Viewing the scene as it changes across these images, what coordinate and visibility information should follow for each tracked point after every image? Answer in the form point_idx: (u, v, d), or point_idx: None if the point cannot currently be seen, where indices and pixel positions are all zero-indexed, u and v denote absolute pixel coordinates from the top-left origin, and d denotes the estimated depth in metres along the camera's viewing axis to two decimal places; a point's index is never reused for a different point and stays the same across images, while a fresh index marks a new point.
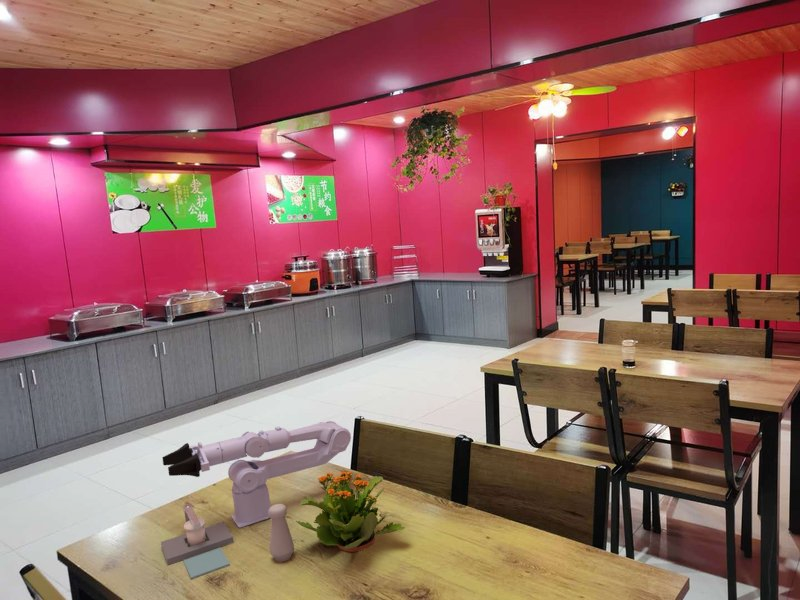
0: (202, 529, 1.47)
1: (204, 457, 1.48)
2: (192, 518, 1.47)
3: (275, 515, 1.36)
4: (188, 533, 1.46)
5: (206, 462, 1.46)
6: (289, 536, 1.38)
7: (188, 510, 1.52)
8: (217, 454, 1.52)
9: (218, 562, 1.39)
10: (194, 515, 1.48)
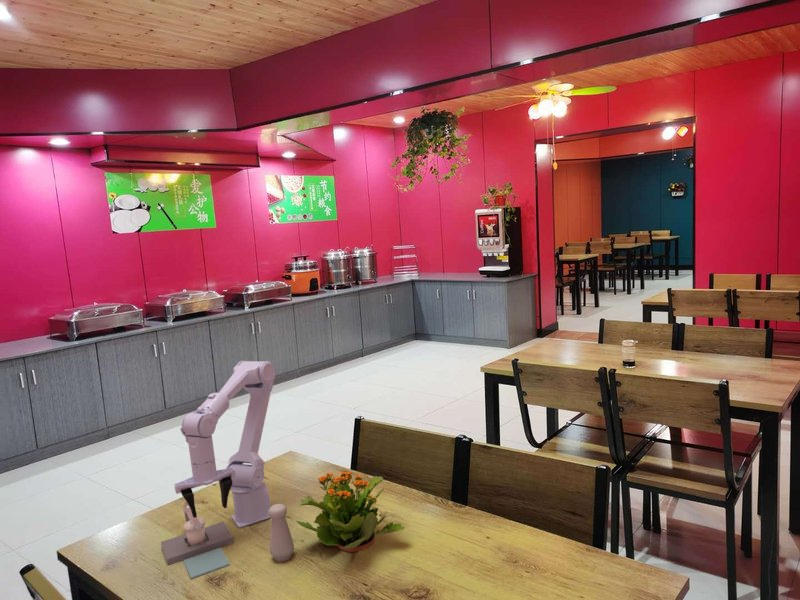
0: (202, 529, 1.47)
1: (225, 475, 1.46)
2: (192, 518, 1.47)
3: (275, 515, 1.36)
4: (188, 533, 1.46)
5: (233, 472, 1.48)
6: (289, 536, 1.38)
7: (188, 510, 1.52)
8: (214, 461, 1.45)
9: (218, 562, 1.39)
10: None
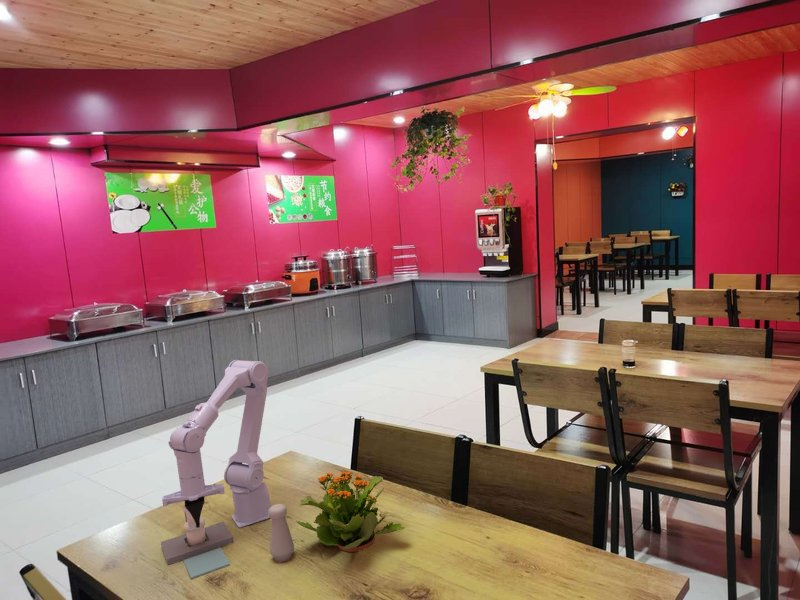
0: (202, 529, 1.47)
1: (212, 491, 1.44)
2: (189, 519, 1.47)
3: (275, 515, 1.36)
4: (188, 533, 1.46)
5: (221, 488, 1.45)
6: (289, 536, 1.38)
7: (187, 510, 1.51)
8: (202, 477, 1.44)
9: (218, 562, 1.39)
10: (191, 516, 1.48)
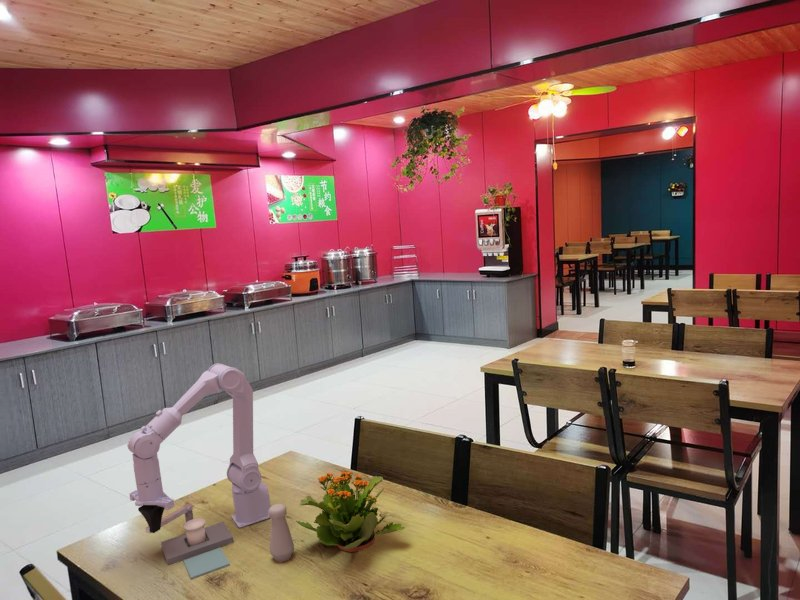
0: (202, 529, 1.47)
1: (157, 503, 1.40)
2: None
3: (275, 515, 1.36)
4: (188, 533, 1.46)
5: (165, 504, 1.39)
6: (289, 536, 1.38)
7: (176, 510, 1.52)
8: (154, 486, 1.41)
9: (218, 562, 1.39)
10: (166, 518, 1.48)
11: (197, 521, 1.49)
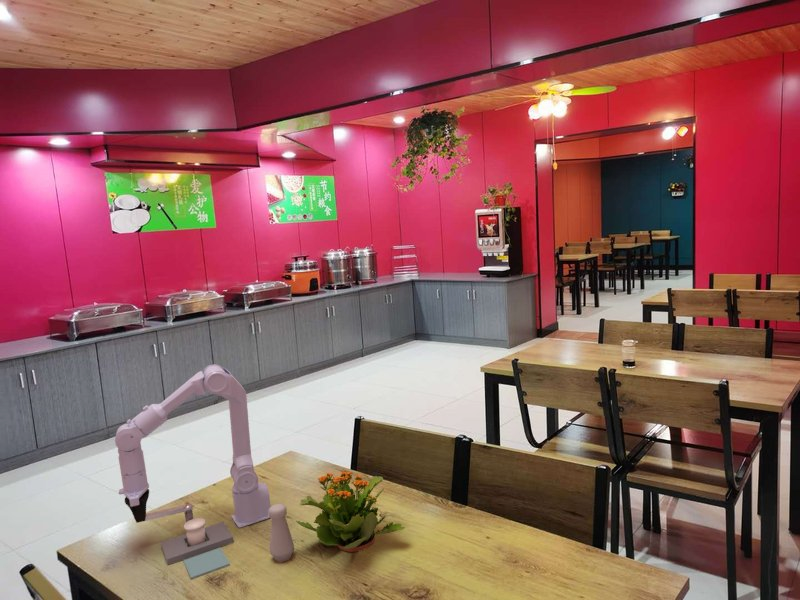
0: (202, 529, 1.47)
1: (127, 497, 1.43)
2: (153, 512, 1.52)
3: (275, 515, 1.36)
4: (188, 533, 1.46)
5: (129, 500, 1.41)
6: (289, 536, 1.38)
7: (175, 507, 1.54)
8: (130, 479, 1.45)
9: (218, 562, 1.39)
10: (158, 512, 1.52)
11: (197, 521, 1.49)
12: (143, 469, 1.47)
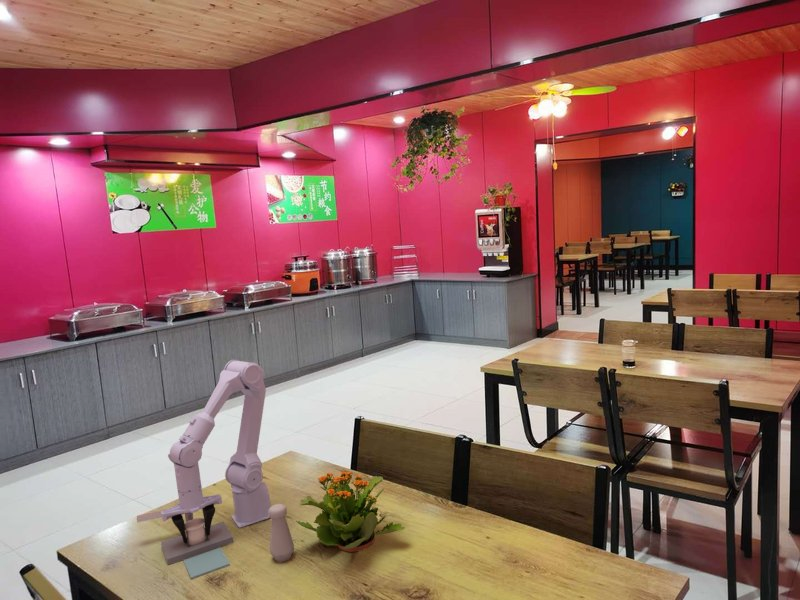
0: (202, 529, 1.47)
1: (211, 502, 1.48)
2: (153, 512, 1.52)
3: (275, 515, 1.36)
4: (188, 533, 1.46)
5: (219, 499, 1.50)
6: (289, 536, 1.38)
7: None
8: (201, 489, 1.48)
9: (218, 562, 1.39)
10: (158, 512, 1.52)
11: (197, 521, 1.49)
12: (200, 484, 1.47)
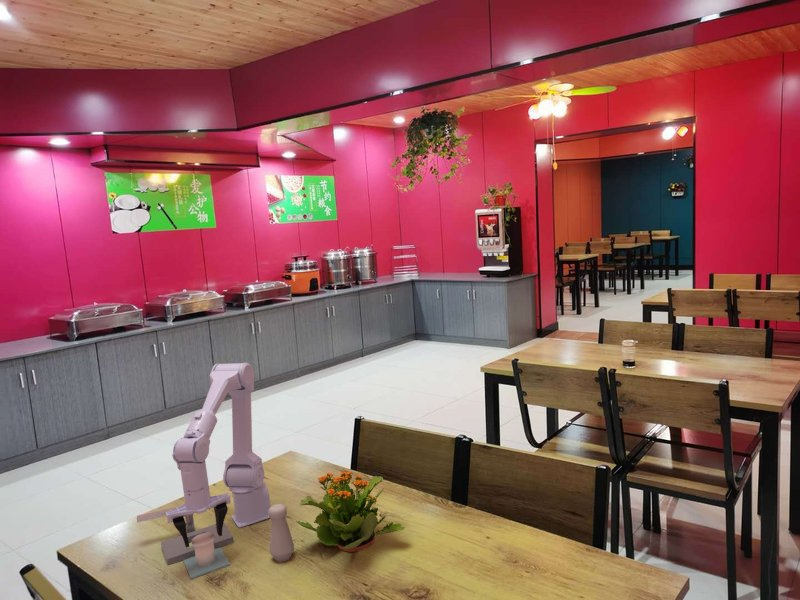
0: (211, 545, 1.38)
1: (219, 501, 1.39)
2: (153, 512, 1.52)
3: (275, 515, 1.36)
4: (196, 549, 1.37)
5: (228, 498, 1.40)
6: (289, 536, 1.38)
7: (175, 507, 1.54)
8: (208, 488, 1.38)
9: (218, 562, 1.39)
10: (158, 512, 1.52)
11: (206, 536, 1.40)
12: None
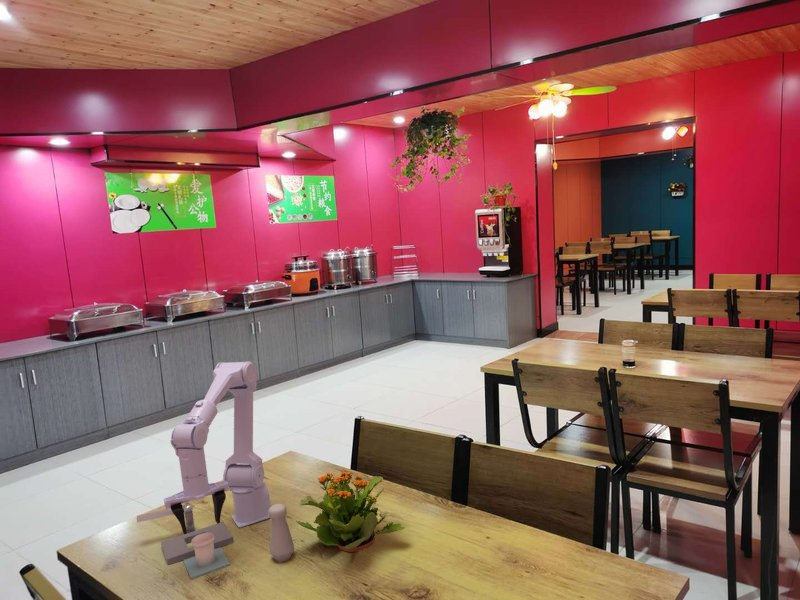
0: (211, 545, 1.38)
1: (217, 488, 1.38)
2: (153, 512, 1.52)
3: (275, 515, 1.36)
4: (196, 549, 1.37)
5: (226, 485, 1.40)
6: (289, 536, 1.38)
7: None
8: (206, 474, 1.38)
9: (218, 562, 1.39)
10: (158, 512, 1.52)
11: (206, 536, 1.40)
12: None
